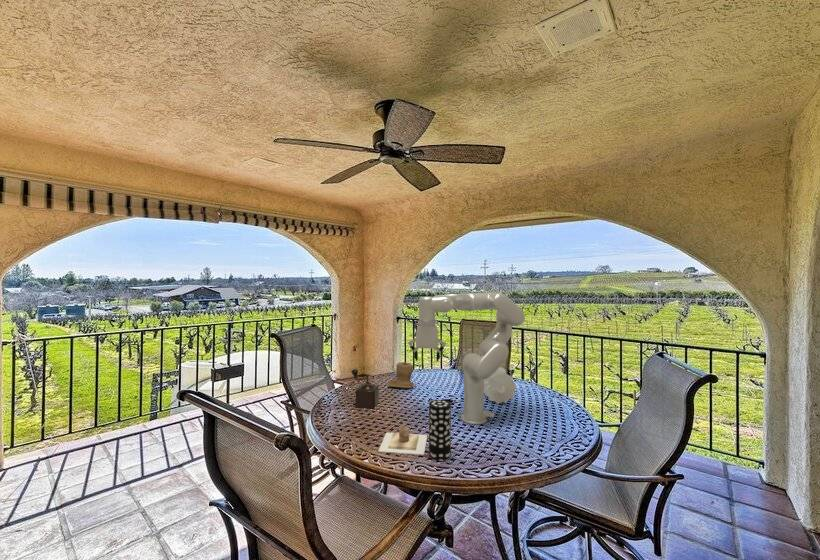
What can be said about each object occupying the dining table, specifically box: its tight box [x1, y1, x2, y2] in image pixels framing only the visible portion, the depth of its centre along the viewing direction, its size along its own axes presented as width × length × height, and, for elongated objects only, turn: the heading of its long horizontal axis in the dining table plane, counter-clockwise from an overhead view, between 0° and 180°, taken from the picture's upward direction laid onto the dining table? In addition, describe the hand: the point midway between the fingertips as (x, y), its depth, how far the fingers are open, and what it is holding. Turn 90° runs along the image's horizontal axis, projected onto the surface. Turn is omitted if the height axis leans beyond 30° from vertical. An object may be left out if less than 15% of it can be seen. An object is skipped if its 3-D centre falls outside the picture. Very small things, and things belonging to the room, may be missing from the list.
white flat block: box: [377, 432, 428, 456], centre depth 139 cm, size 18×16×1 cm
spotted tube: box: [428, 399, 452, 462], centre depth 130 cm, size 8×8×20 cm
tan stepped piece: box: [387, 361, 414, 389], centre depth 211 cm, size 15×12×15 cm
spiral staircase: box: [484, 366, 517, 405], centre depth 192 cm, size 18×18×25 cm
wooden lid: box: [388, 425, 420, 450], centre depth 139 cm, size 11×11×6 cm
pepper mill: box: [351, 368, 380, 410], centre depth 182 cm, size 16×11×18 cm
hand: (426, 360), depth 156 cm, fingers open, 9 cm apart
